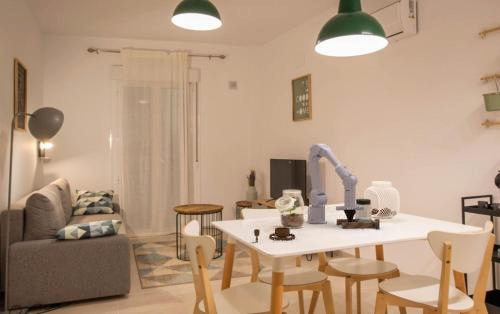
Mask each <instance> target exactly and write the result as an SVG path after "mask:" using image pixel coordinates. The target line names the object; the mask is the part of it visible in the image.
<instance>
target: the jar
mask: <svg viewBox="0 0 500 314" xmlns="http://www.w3.org/2000/svg"><path fill="white" fill-rule="evenodd" d="M371 202H372V200H371V199H369V198H355V206H363V207H364V210H355V211H356V213H355V215H354V219H358V217H369V218H371V219H372V203H371Z"/></svg>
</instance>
